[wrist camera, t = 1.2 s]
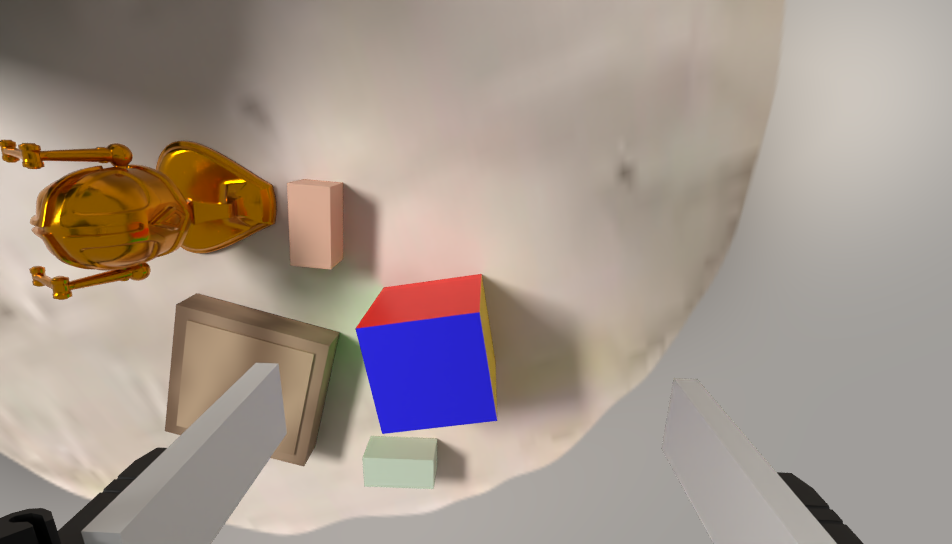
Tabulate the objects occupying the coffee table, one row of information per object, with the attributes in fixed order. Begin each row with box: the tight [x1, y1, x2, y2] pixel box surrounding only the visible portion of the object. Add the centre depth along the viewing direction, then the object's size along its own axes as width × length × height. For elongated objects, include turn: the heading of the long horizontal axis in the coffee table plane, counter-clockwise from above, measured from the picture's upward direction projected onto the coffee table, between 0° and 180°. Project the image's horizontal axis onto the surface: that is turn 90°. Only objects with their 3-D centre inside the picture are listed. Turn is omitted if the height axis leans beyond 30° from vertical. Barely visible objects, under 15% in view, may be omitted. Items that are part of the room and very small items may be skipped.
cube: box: [356, 274, 497, 434], centre depth 33 cm, size 8×8×8 cm
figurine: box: [0, 140, 277, 300], centre depth 28 cm, size 8×11×12 cm
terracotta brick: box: [287, 179, 343, 269], centre depth 33 cm, size 6×3×3 cm, turn 175°
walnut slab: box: [165, 294, 340, 466], centre depth 37 cm, size 12×12×3 cm
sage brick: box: [363, 436, 437, 489], centre depth 39 cm, size 6×3×3 cm, turn 89°
